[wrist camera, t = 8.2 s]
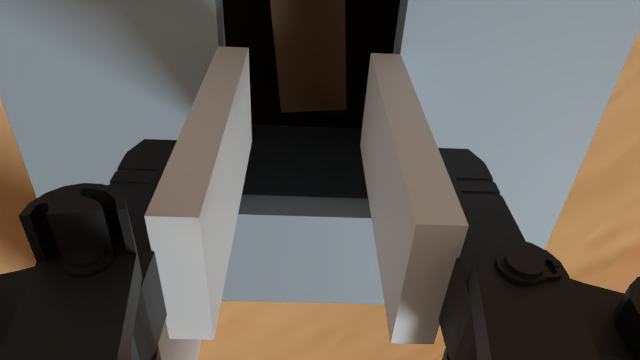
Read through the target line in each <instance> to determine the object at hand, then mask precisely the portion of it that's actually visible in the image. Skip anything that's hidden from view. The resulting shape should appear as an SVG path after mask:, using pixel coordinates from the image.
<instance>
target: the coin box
mask: <svg viewBox="0 0 640 360" xmlns="http://www.w3.org/2000/svg"><path fill="white" fill-rule="evenodd" d="M639 30H640V0H400V6H399V13H398V20H397V27H396V35H395V42H394V49H393V54H401V56H402V59H403V61H404V64H405V66H406V69H407V71H408V74H409V76H410V79H411V82H412V84H413V87H414V89H415V92H416V94H417V97H418V99H419V102H420V104H421V107H422V109H423V112H424V114H425V117H426V119H427V122H428V124H429V127H430V129H431V132H432V134H433V137H434V139H435V142H436V144H437V147H438V148H458V149H469V150H470V151H471V152H473V153H474V154H475V155H476V156H477V157H479V158H480V159H481V160H482V161H483V162H485V164H486V166H487V168H488V170H489V171H490V173H491V175H492V177H493V182H495V183H496V185H497V187H498V189H499V191H500V195H502V196H503V198H504V200H505V202H506V204H507V206H508V208H509V210H510V212H511V214H512V216H513V218H514V219H515V221H516V223H517V225H518V227H519V229H520V231H521V233H522V235H523V237H524V239H525V241H526V242H530V243H532V244H534V245H536V246H538V247H540V248H542V249H544V250H545V248H546V245H547V243H548V241H549V238H550V236H551V234H552V231H553V229H554V227H555V224H556V222H557V220H558V217H559V215H560V213H561V210H562V208H563V206H564V204H565V201H566V199H567V197H568V194H569V192H570V190H571V187H572V185H573V183H574V180H575V178H576V176H577V173H578V171H579V169H580V166H581V164H582V162H583V159H584V157H585V155H586V153H587V150H588V148H589V146H590V143H591V141H592V139H593V136H594V134H595V132H596V129H597V127H598V125H599V122H600V120H601V118H602V115H603V113H604V111H605V108H606V106H607V104H608V102H609V99H610V97H611V95H612V92H613V90H614V88H615V85H616V83H617V81H618V78H619V76H620V74H621V71H622V69H623V67H624V64H625V62H626V60H627V57H628V55H629V53H630V50H631V48H632V46H633V44H634V41H635V39H636V37H637V34H638V32H639ZM218 46H223V47H225V33H224V17H223V2H222V0H0V97H1V100H2V103H3V105H4V108H5V111H6V114H7V117H8V119H9V122H10V125H11V128H12V131H13V133H14V136H15V139H16V142H17V145H18V147H19V150H20V153H21V156H22V158H23V161H24V164H25V167H26V170H27V172H28V175H29V178H30V181H31V184H32V186H33V189H34V192H35V195H36V198H38V197H40V196H41V195H43V194H44V193H47V192H49V191H52V190H55V189H58V188H60V187H63V186H68V185H74V184H81V183H94V184H104V185H110V180H111V178H112V176H113V175H114V173H115V171H117V168H118V166H119V164H120V162H121V161H122V159H123V157H124V156H125V154H126V152H127V151H129V150H130V149H132V148H133V147H134V146H136V145H137V144H138V143H140V142H141V141H142V140H144V139H159V140H178V137H179V135H180V133H181V130H182V128H183V126H184V123H185V121H186V119H187V116H188V114H189V112H190V110H191V107H192V105H193V103H194V100H195V98H196V96H197V93H198V91H199V89H200V87H201V84H202V82H203V80H204V77H205V75H206V73H207V70H208V68H209V66H210V63H211V61H212V59H213V57H214V54H215V52H216V50H217V47H218ZM251 129H252V144H251V149H250V155H249V160H248V165H247V170H246V175H245V181H244V186H243V191H242V196H241V201H240V207H239V212H238V217H237V222H236V227H235V233H234V238H233V243H232V248H231V253H230V259H229V264H228V269H227V274H226V279H225V284H224V290H223V295H222V300H221V301H260V302H303V303H346V304H385V303H384V297H383V290H382V284H381V277H380V271H379V264H378V258H377V252H376V245H375V239H374V232H373V226H372V219H371V213H370V206H369V200H368V193H367V187H366V180H365V174H364V168H363V161H362V155H361V148H360V142H361V134H362V129H357V128H331V127H304V126H278V125H251Z"/></svg>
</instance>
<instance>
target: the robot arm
mask: <svg viewBox="0 0 640 360" xmlns="http://www.w3.org/2000/svg"><path fill="white" fill-rule="evenodd" d="M251 144H252V129H251V100H250V72H249V48H245V47H223V46H218V47H217V50H216V52H215V54H214V57H213V59H212V61H211V63H210V66H209V68H208V70H207V73H206V75H205V77H204V80H203V82H202V84H201V87H200V89H199V91H198V93H197V96H196V98H195V100H194V103H193V105H192V107H191V110H190V112H189V114H188V116H187V119H186V121H185V123H184V126H183V128H182V130H181V133H180V135H179V137H178V140H159V139H144V140H142V141H141V142H140V143H138V144H137V145H136V146H134V147H133V148H132V149H130V150H129V151H127V152H126V154H125V156H124V157H123V159H122V161H121V162H120V164H119V166H118V168H117V171H115V173H114V175H113V176H112V178H111V180H110V185H104V184H94V183H81V184H74V185H68V186H63V187H60V188H58V189H55V190H52V191H49V192H47V193H44V194H43V195H41V196H40V197H38V198H37V199H35V200H33V201H32V202H30V203H29V204H28V205H27V206H26V208H25V209H24V210H23V211H22V212H21V214H20V215H19V218H20V221H21V223H22V226H23V228H24V231H25V233H26V236H27V238H28V241H29V243H30V246H31V248H32V251H33V253H34V256H35V258H36V261H37V263H36V265H35V266H34V267H31V268H27V269H23V270H20V271H15V272H10V273H5V274H0V360H161V355H160V349H159V345H158V343H159V340H160V336H161V333H162V330H163V326H164V323H165V320H166V325H167V330H168V335H169V339H206V340H214V336H215V331H216V326H217V321H218V316H219V310H220V305H221V300H222V295H223V290H224V284H225V279H226V274H227V269H228V264H229V259H230V253H231V248H232V243H233V238H234V233H235V227H236V222H237V217H238V212H239V207H240V201H241V196H242V191H243V186H244V181H245V175H246V170H247V165H248V160H249V155H250V149H251ZM360 148H361V155H362V161H363V168H364V174H365V180H366V187H367V193H368V200H369V206H370V213H371V219H372V226H373V232H374V239H375V245H376V252H377V258H378V264H379V271H380V277H381V284H382V290H383V297H384V303H385V310H386V316H387V323H388V329H389V335H390V342H391V343H406V344H434V341H435V338H436V335H437V331H438V328H439V324H440V326H441V330H442V334H443V338H444V342H445V346H446V349H445V352H444V355H443V358H442V360H640V277H637V278H636V279H635V281H634V282H633V283H632V284H631V285H630V286H629V288H628V289H627V291H626V293H625V294H624V293H620V292H616V291H612V290H608V289H604V288H601V287H597V286H593V285H589V284H585V283H582V282H579V281H576V280H573V279H570V278H569V275H568V273H567V272H566V270H565V268H564V267H563V265H562V264H561V262H560V261H559V260H557V259H556V258H555V257H554V256H553V255H551V254H550V253H549V252H548V251H546V250H544V249H542V248H540V247H538V246H536V245H534V244H532V243H530V242H526V241H525V239H524V237H523V235H522V233H521V231H520V229H519V227H518V225H517V223H516V221H515V219H514V218H513V216H512V214H511V212H510V210H509V208H508V206H507V204H506V202H505V200H504V198H503V196H502V195H500V191H499V189H498V187H497V185H496V183H495V182H493V177H492V175H491V173H490V171H489V170H488V168H487V166H486V164H485V162H483V161H482V160H481V159H480V158H479V157H477V156H476V155H475V154H474V153H473V152H471V151H470V150H469V149H458V148H438V147H437V144H436V142H435V139H434V137H433V134H432V132H431V129H430V127H429V124H428V122H427V119H426V117H425V114H424V112H423V109H422V107H421V104H420V102H419V99H418V97H417V94H416V92H415V89H414V87H413V84H412V82H411V79H410V76H409V74H408V71H407V69H406V66H405V64H404V61H403V59H402V56H401V54H383V53H371V55H370V64H369V72H368V81H367V90H366V99H365V107H364V116H363V125H362V134H361V142H360Z"/></svg>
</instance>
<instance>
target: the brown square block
mask: <svg viewBox="0 0 640 360" xmlns="http://www.w3.org/2000/svg"><path fill="white" fill-rule="evenodd" d="M270 5H271V15H272V25H273V35H274V45H275V55H276V65H277V75H278V85H279V95H280V105H281V113H282V112H305V111H327V110H346V40H345V0H270Z"/></svg>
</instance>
